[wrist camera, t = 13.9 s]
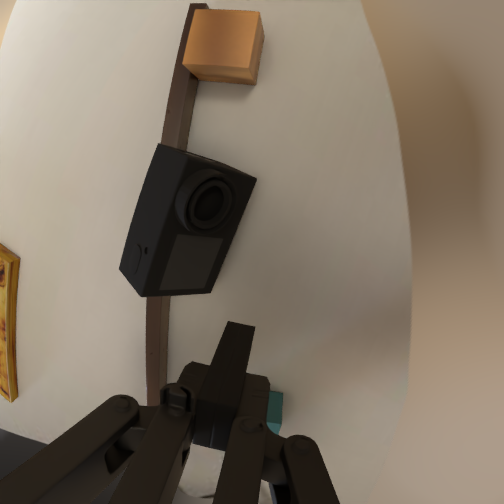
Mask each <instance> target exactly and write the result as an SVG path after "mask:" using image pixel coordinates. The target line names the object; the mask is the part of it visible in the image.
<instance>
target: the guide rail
mask: <svg viewBox="0 0 504 504" xmlns="http://www.w3.org/2000/svg"><path fill="white" fill-rule="evenodd" d="M196 9H209V7H208V5H207V4H206V3H192V4H190V6H189V10H188V14H187V18H186V21H185V25H184V29H183V33H182V37H181V42H180V46H179V50H178V55H177V59H176V64H175V68H174V73H173V78H172V83H171V88H170V93H169V98H168V104H167V109H166V115H165V121H164V127H163V133H162V140H161V144H164V145H168V146H171V147H174V148H178V149H181V150H184V151H186V149H187V142H188V136H189V130H190V123H191V118H192V112H193V106H194V101H195V95H196V90H197V85H198V78H197V77H196V76H195V75H194V74H192V73H191V72H190V71H189V70H188V69H187V68H186V67H185V66H184V65H183V64H182V63H183V58H184V54H185V49H186V45H187V41H188V37H189V32H190V28H191V24H192V20H193V16H194V13H195V10H196ZM169 308H170V296H159V297H147V303H146V391H147V406H157V405H160V389H161V388H162V387H163V386H165V385H166V378H167V346H168V325H169Z"/></svg>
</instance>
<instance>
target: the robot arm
mask: <svg viewBox="0 0 504 504" xmlns="http://www.w3.org/2000/svg"><path fill="white" fill-rule="evenodd" d="M254 331H255V327H254V326H249V325H245V324H240V323H235V322H230V321H228V322H227V325H226V327H225V330H224V332H223V334H222V337H221V339H220V342H219V344H218V347H217V349H216V352H215V354H214V357H213V359H212V362H211V364H210V366H209V365H205V364H201V363H197V362H193V361H192V362H191V363H189V364H188V365H186V366H185V367H184V369H183V371H182V373H181V375H180V377H179V379H178V381H177V383H170V384H167V385H165V386H163V387H162V388H161V389H160V405H157V406H139V404H138V402H137V401H136V400H135V399H134V398H133V397H130V396H128V395H115V396H113V397H111V398H109V399H108V400H106V401H105V402H104V403H103V404H101V405H100V406H99V407H97V408H96V409H95V410H93V411H92V412H91V413H90V414H88V415H87V416H86V417H84V418H83V419H82V420H80V421H79V422H78V423H77V424H75V425H74V426H73V427H71V428H70V429H69V430H67V431H66V432H65V433H63V434H62V435H61V436H59V437H58V438H57V439H55V440H54V441H53V442H51V443H50V444H49V445H48V446H46V447H45V448H43V449H42V450H41V451H39V452H38V453H37V454H35V455H34V456H33V457H31V458H30V459H29V460H27V461H26V462H25V463H23V464H22V465H20V466H19V467H18V468H16V469H15V470H14V471H13V472H11V473H9V474H8V475H7V476H5V477H4V478H3V479H1V480H0V504H90V503H91V502H92V501H93V500H94V499H95V498H96V497H97V496H98V495H99V494H100V493H101V492H102V491H103V490H104V489H105V488H106V487H107V486H108V485H109V484H110V483H111V482H112V481H113V480H114V479H115V478H116V477H117V476H118V475H119V474H120V473H121V472H122V471H123V470H124V469H125V468H126V467H127V466H128V467H127V468H126V470H125V472H124V474H123V476H122V478H121V480H120V482H119V484H118V486H117V488H116V490H115V492H114V493H113V495H112V497H111V499H110V501H109V503H108V504H172V501H173V498H174V495H175V493H176V490H177V487H178V484H179V481H180V479H181V476H182V473H183V470H184V467H185V464H186V462H187V459H188V456H189V453H190V445H191V442H192V439H193V442H192V444H196V445H200V446H204V447H208V448H213V449H217V450H222V451H226V452H225V456H224V460H223V464H222V468H221V472H220V476H219V480H218V484H217V488H216V492H215V496H214V500H213V503H212V504H258V499H259V492H260V484H261V479H262V480H264V481H267V482H269V488H270V492H271V497H272V501H273V504H340V503H339V500H338V497H337V495H336V492H335V490H334V487H333V484H332V482H331V479H330V477H329V474H328V471H327V469H326V466H325V464H324V461H323V458H322V456H321V453H320V451H319V448H318V446H317V444H316V442H315V441H314V440H312V439H311V438H309V437H307V436H304V435H293V436H290V437H288V438H287V439H286V438H284V437H281V436H279V435H277V434H275V433H274V432H272V431H271V430H270V429H269V427H268V425H267V411H268V402H269V392H270V383H269V381H268V379H267V377H265V376H260V375H255V374H249V373H246V370H247V365H248V361H249V356H250V351H251V346H252V341H253V336H254Z"/></svg>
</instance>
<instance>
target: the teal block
mask: <svg viewBox="0 0 504 504" xmlns="http://www.w3.org/2000/svg"><path fill="white" fill-rule="evenodd" d="M282 405H283V393H280V392H273V391H270V392H269V402H268V411H267V425H268V427H269V429H270V430H271V431H272V432H274V433H275V434H277V435H278V434H279V431H280V428H281V424H282Z"/></svg>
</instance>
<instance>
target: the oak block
mask: <svg viewBox="0 0 504 504" xmlns="http://www.w3.org/2000/svg"><path fill="white" fill-rule="evenodd" d="M263 42H264V31H263V26H262V21H261V16H260V12H255V11H241V10H216V9H196V10H195V13H194V16H193V20H192V24H191V28H190V32H189V37H188V41H187V45H186V49H185V54H184V58H183V63H182V64H183V65H184V66H185V67H186V68H187V69H188V70H189V71H190V72H191V73H192V74H194V75H195V76H196V77H197V78H198V79H199V80H201V81H216V82H228V83H238V84H247V85H256V81H257V75H258V69H259V64H260V58H261V53H262V47H263Z"/></svg>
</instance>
